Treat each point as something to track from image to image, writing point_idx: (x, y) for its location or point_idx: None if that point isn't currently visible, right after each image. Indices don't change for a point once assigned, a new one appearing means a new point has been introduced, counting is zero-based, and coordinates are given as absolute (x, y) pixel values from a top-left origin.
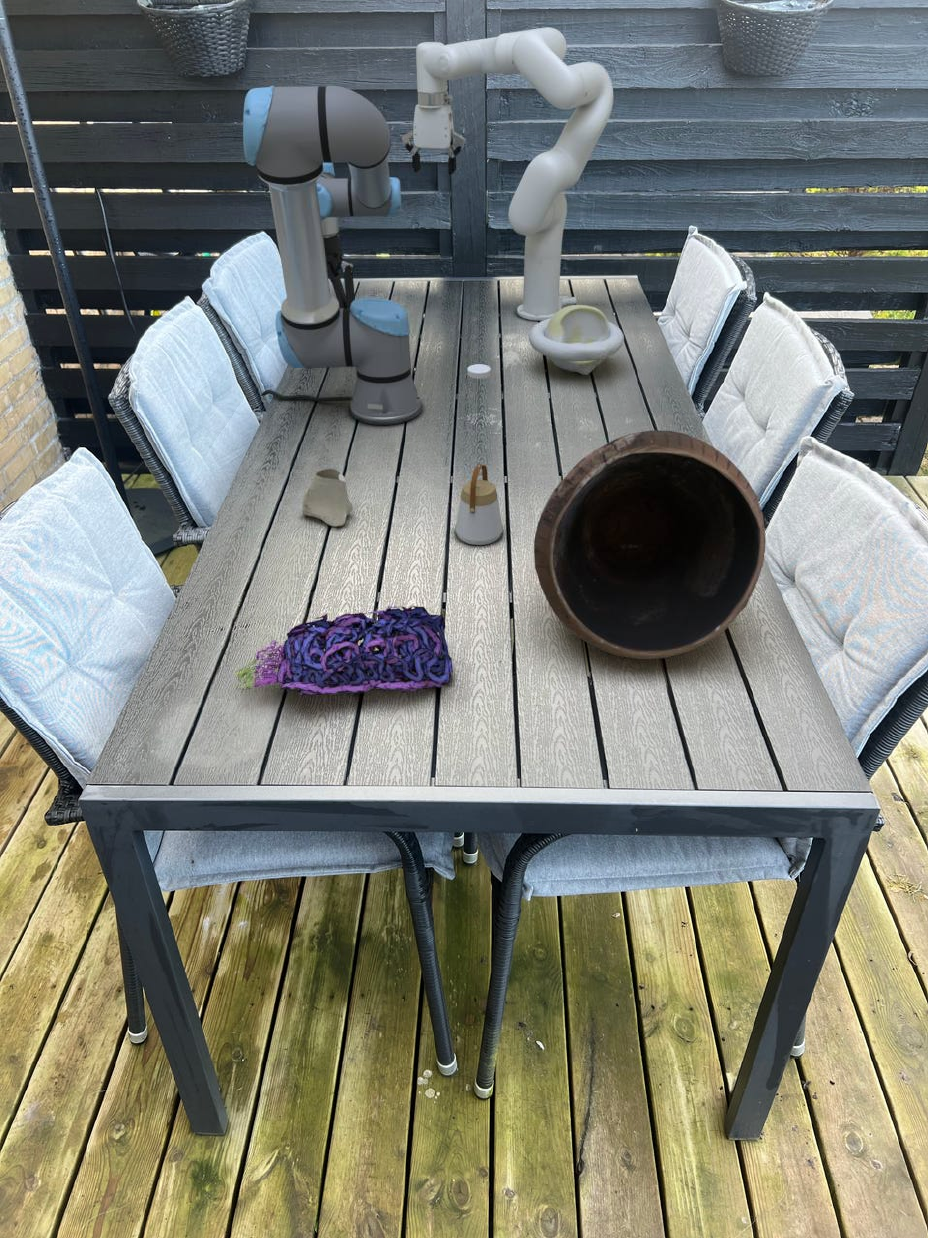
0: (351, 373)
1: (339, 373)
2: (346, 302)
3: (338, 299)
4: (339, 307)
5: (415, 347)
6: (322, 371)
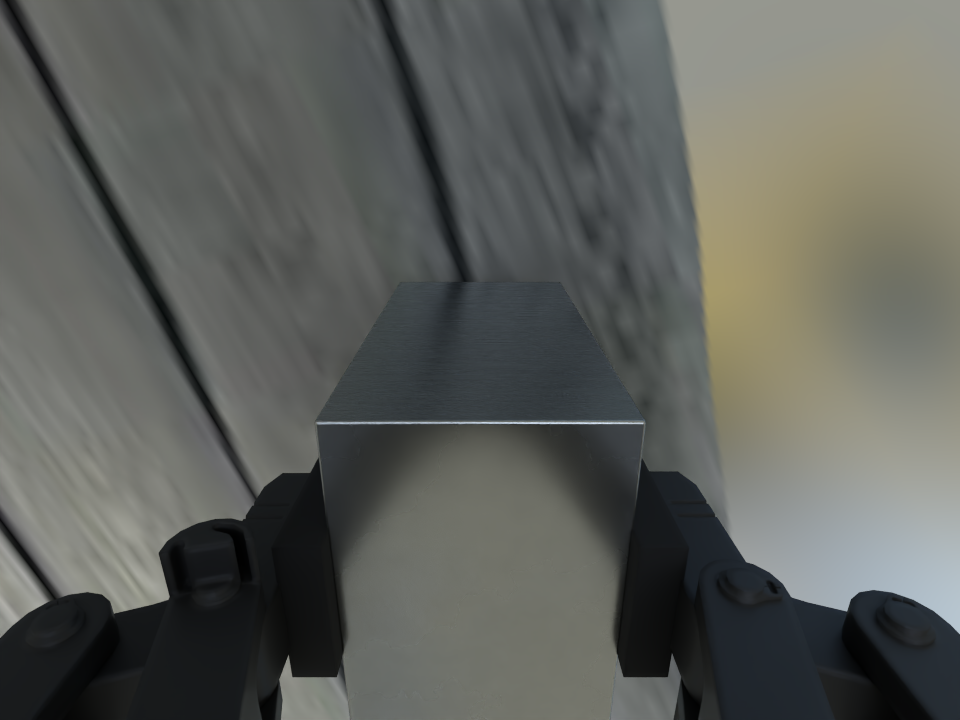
0: (193, 59)
1: (281, 28)
2: (62, 674)
3: (204, 715)
4: (399, 685)
5: (61, 582)
6: (430, 27)
